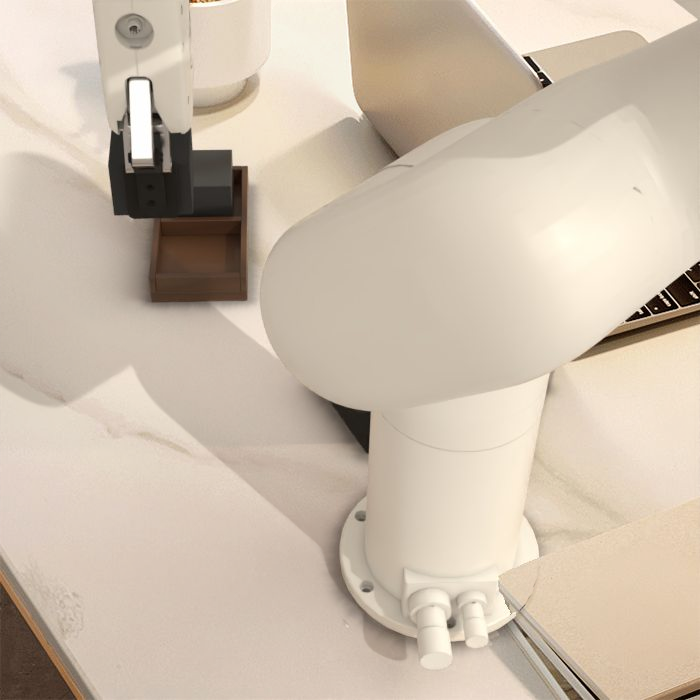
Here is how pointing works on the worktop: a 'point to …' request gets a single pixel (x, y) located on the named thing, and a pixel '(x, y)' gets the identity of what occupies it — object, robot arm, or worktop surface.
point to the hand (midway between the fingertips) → (155, 185)
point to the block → (179, 154)
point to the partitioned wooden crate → (205, 237)
